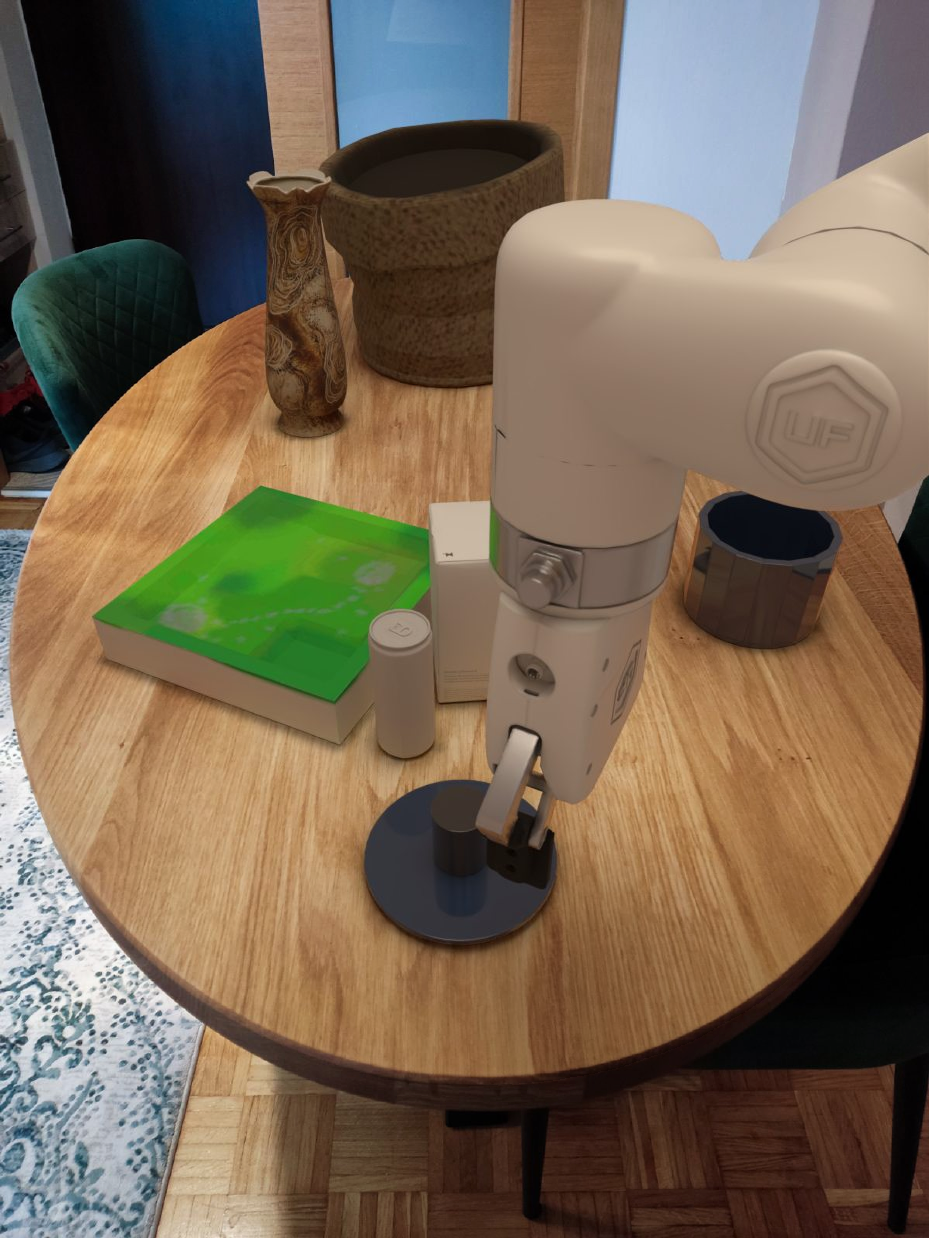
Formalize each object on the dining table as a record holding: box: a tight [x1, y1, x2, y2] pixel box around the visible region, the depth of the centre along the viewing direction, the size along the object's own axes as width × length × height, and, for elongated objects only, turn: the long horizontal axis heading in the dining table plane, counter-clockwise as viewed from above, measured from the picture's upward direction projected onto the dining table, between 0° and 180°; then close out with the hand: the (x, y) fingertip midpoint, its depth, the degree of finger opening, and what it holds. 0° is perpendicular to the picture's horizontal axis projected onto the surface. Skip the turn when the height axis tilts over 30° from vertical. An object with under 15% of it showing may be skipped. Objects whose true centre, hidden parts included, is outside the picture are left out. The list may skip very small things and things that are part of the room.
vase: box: [245, 168, 348, 438], centre depth 108 cm, size 10×11×30 cm
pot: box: [317, 118, 566, 388], centre depth 128 cm, size 35×35×30 cm
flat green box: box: [91, 485, 432, 746], centre depth 83 cm, size 25×25×5 cm
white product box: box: [427, 500, 501, 703], centre depth 75 cm, size 9×9×15 cm
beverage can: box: [368, 609, 436, 759], centre depth 69 cm, size 5×5×12 cm
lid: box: [363, 778, 558, 946], centre depth 61 cm, size 14×14×6 cm
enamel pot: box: [683, 490, 844, 649], centre depth 83 cm, size 13×13×10 cm
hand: (553, 804), depth 47 cm, fingers open, 9 cm apart
